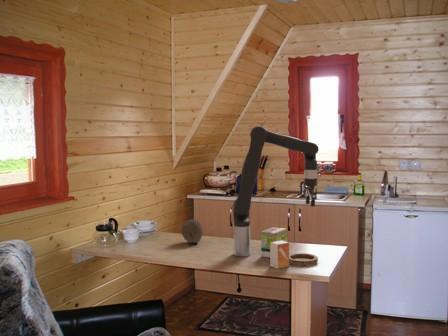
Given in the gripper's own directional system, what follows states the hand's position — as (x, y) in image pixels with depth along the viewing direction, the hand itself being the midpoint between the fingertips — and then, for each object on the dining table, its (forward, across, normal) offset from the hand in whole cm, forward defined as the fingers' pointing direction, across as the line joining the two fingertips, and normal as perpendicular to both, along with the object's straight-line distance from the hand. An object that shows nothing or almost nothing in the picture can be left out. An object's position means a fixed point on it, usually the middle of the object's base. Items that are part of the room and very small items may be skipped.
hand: (310, 205), depth 284 cm
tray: (+28, +18, -10) cm, 35 cm away
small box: (+29, +22, -24) cm, 44 cm away
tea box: (+29, 0, -21) cm, 36 cm away
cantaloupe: (+30, -40, -64) cm, 81 cm away
